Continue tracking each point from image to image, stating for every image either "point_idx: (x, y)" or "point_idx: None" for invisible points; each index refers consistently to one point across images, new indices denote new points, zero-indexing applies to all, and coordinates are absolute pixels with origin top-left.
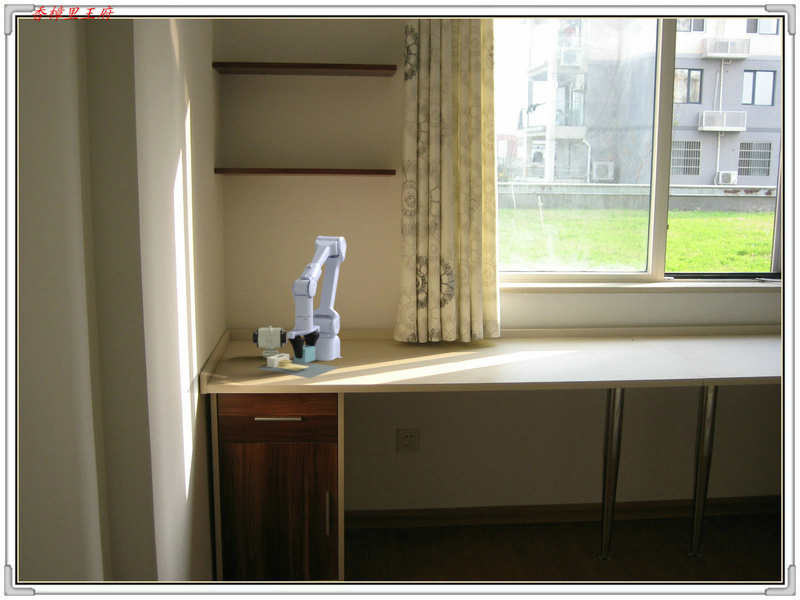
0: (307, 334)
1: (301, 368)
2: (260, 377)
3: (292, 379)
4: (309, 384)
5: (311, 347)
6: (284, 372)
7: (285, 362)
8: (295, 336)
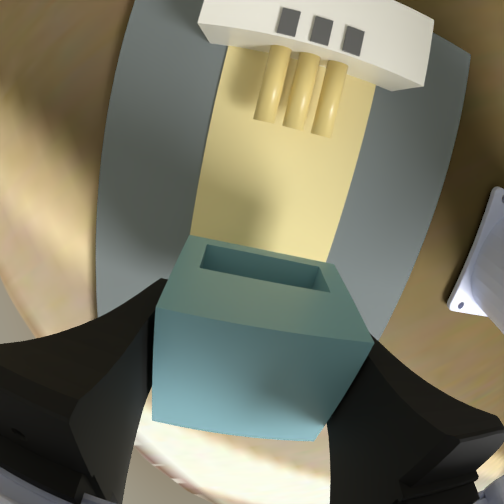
0: (396, 489)
1: (254, 245)
2: (34, 86)
3: (73, 268)
4: None
5: (255, 436)
6: (115, 183)
7: (255, 111)
8: (2, 476)
